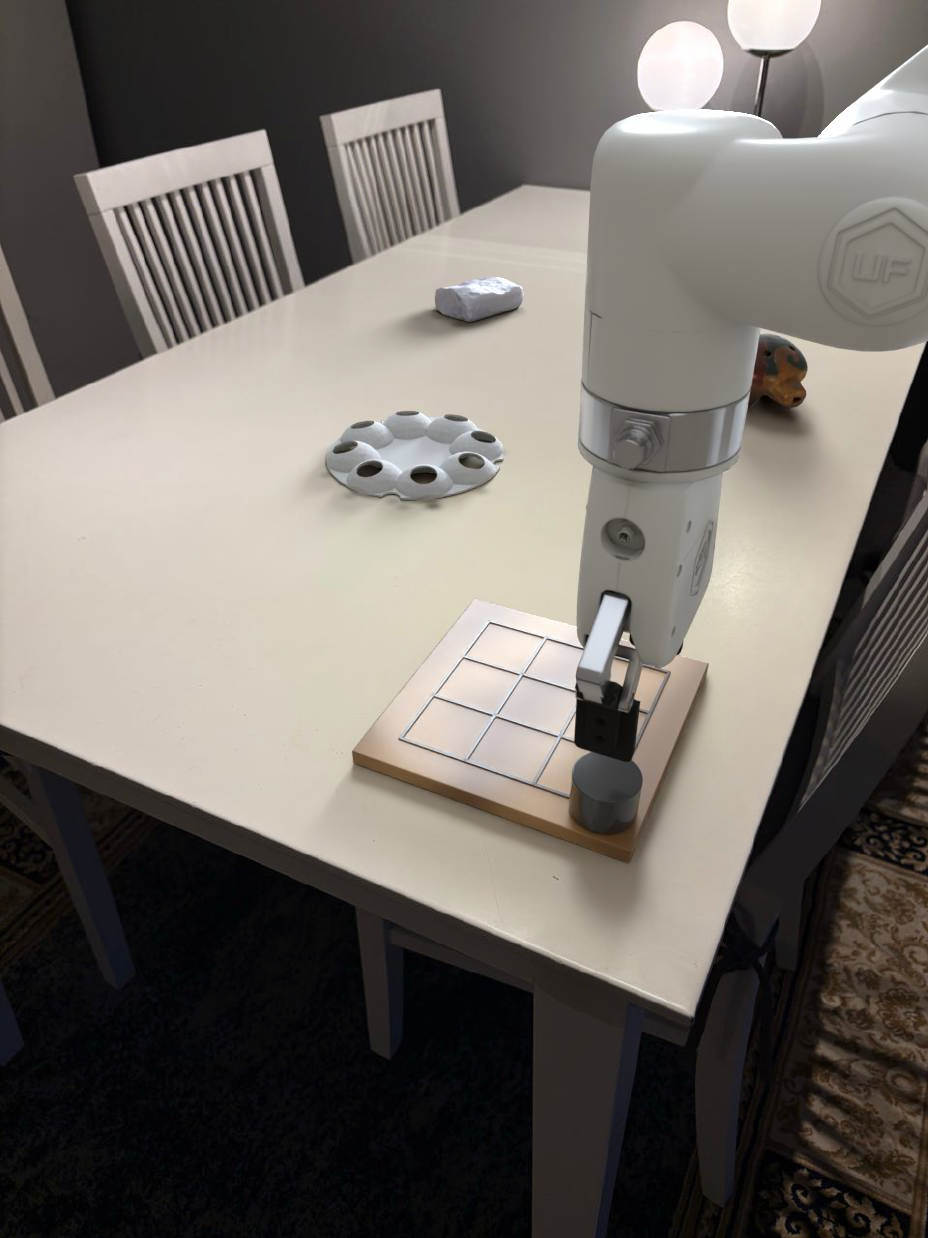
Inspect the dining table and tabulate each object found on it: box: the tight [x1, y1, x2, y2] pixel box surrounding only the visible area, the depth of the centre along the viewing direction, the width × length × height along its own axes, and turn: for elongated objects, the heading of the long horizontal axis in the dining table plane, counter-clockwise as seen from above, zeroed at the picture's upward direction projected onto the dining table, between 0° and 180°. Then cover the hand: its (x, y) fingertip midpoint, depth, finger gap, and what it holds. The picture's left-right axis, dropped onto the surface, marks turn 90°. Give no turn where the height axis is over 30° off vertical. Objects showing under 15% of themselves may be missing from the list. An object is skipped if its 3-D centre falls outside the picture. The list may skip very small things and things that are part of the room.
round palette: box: [325, 410, 505, 501], centre depth 100 cm, size 20×20×2 cm
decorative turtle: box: [748, 333, 808, 409], centre depth 111 cm, size 10×15×8 cm, turn 23°
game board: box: [351, 598, 710, 864], centre depth 67 cm, size 20×20×1 cm
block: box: [434, 276, 525, 323], centre depth 139 cm, size 12×5×10 cm
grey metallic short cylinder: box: [569, 752, 643, 834], centre depth 57 cm, size 4×4×3 cm
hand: (631, 696), depth 52 cm, fingers open, 9 cm apart
